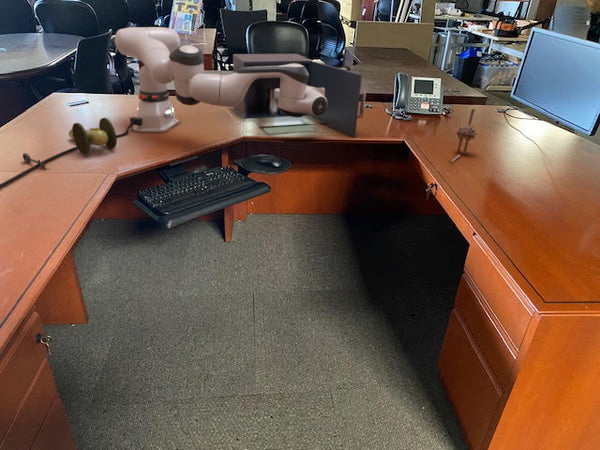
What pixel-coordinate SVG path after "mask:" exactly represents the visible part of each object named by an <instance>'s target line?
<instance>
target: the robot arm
mask: <svg viewBox="0 0 600 450" xmlns="http://www.w3.org/2000/svg"><path fill="white" fill-rule="evenodd" d="M114 44H115V47H116V49H117V51H118V52H119V53H120V54H121V55H122V56H127V57H131V58H134V59H136V60H138V61H139V62H141V63H143V66H141V67H140V68H139V70H138V73H137V74H138V81H139V93H138V99H139V101H138V106H137V111H136V116H131V117H129V122H130V124H129V125H128V126H127V127H126V130H125V131H124V132H123V133H120V134H116V138H117V139H118V138H121V137H124V136H126V135H127V134H128V133H129V132H130V129H131V128H132V131H133V132H139V133H164V132H168V131H169V130H170V129H172V127H174V126H176V125H177V124H179V123H180V121H179V119H177V118H176V115H175V109H174V104H173V102H172V101H170V99H169V98H170V92H169V89H168V87H167V85H168V84H169V83H172V82H173V83H174V95H175V98H176V100H177V101H178V102H179V103H180V104H182V105H186V106H196V105H198V104H200V103H203V104H207V105H211V106H218V107H224V108H225V107H227V108H231V107H232V108H234V106H236V105H237V104H239V103H240V102H241V101H242V99H243V98H244V96H245V94H246V92H247V90H248V88H249V86H250V85H251V83H252V82H253V81H254V80H256V79H258V78H276V77H279V78H280V80H281V81H280V88H277V89H275V90H274V97H275V98H276V99H278V104H277V107H278V109H279V110H280V111H281V112H282V113H283V114H285V115H287V117H290V118H302V117H305V116H307V115H306V114H310V115H313V116H321V115H323V114H324V113H325V111H326V110H327V106H328V102H327V99H326V97H325V88H322V87H312V86H308V85H306V84H307V82H308V78H309V74H308V71H307V70H306V68H305V67H304V66H303V65H300V64H287V65H274V66H251V67H242V68H239V69H237V71H236V72H235V73H233V72H232V73H231V74H220V73H205V65H204V62H205V59H204V53H203V51H202V50H201V49H200V48H199V47H198V46H195V45H191V44H184V45H183V44H182V43H181V38H180V35H179V34H178V32H177V31H176V30H175V29H173V28H169V27H164V26H146V27H145V26H143V27H142V26H141V27H140V26H137V27H136V26H134V27H133V26H131V27H130V26H129V27H124V28H120V29H118V30H116V33H115V36H114ZM304 115H305V116H304ZM91 145H92V144H90V146H91ZM76 150H78V148H77V146H74V147H72V148H68V149H67V150H64V151H62V152H59V153H57V154H55V155H53V156H50V157H48V158H46V159H45V160H42V161H43V163H44V164H45V165H46V164H47V163H48V162H51V161H53V160H56V159H57V158H59V157H61V156H64V155H66V154H69V153H71V152H74V151H76ZM42 161H40V162H41V163H42ZM39 167H41V165H40V164H38V163H36V164H35V165H33V166H31V167H29V168H28V169H25V170H24V171H22V172H20V173H18V174H17V175H14V176H13V177H11V178H9V179H8V180H5V181H4V182H2V183H0V189H1V188H3V187H5V186H7V185H9V184H11V183H12V182H14V181H16V180H18V179H20V178H22V177H23V176H25V175H27V174H29V173H30V172H32V171H34V170H36V169H37V168H38V169H39Z"/></svg>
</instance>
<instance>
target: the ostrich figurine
mask: <svg viewBox="0 0 600 450" xmlns="http://www.w3.org/2000/svg"><path fill="white" fill-rule="evenodd" d="M470 111H471V112H470V115H469V120H468V124H465V125H464V126H460V127H459V128H458V130H457V132H456V136H457V138H458V139H459V142H458V146H457V151H456V154H458V155H457V156H455V157H454V158H453V159H452V160H451V163H453V162H454V161H456V160H457V159H458V158H459V157H460V153H461V149H462V144H463V140H465V144H464V147H463V152H462V155H463V156H466V155H467V150H468V145H469V142H470V141H471V140H472V139H473V140H474V139H475V137H476V136H477V135H478V132H477V130H476V129H475V127H474V125H472V121H473V117H474V114H475V111H476V108H474V107H473V108H471V110H470Z"/></svg>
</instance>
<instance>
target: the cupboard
mask: <svg viewBox="0 0 600 450" xmlns="http://www.w3.org/2000/svg"><path fill="white" fill-rule="evenodd" d="M312 62H313V60H311V59H309V58H308V57H305V56H303V55H301V54H298V53H233V54H232V67H233V68H232V70H233V71H232V74H233V73H235V72H236V71H237V69H239V68H242V67H251V66H274V65H287V64H300V65H303V66H304V67H305V68H306V70H307V71H308V74H309V78H308V82H307V84H306V85H308V86H311V72H312ZM280 81H281V80H280V78H279V77H276V78H258V79H256V80H254V81H253V82H252V83H251V85H250V86H249V88H248V90H247V92H246V94H245V96H244V98H243V99H242V101H241V102H240V103H239V104H237V105H236V106H233V108H234V109H235V110H236V111H237V112H238V114H239V115H240V116H241V117H242V119H244V120H250V119H267V118H268V119H269V118H285V117H288V116H287V115H285V114H283V113H282V112H281V111H280V110H279V114H276V115H272V114H268V113H267V87H271V86H274V87H279V88H280ZM305 116H309V114H306V115H304V116H303V117H305Z"/></svg>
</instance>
